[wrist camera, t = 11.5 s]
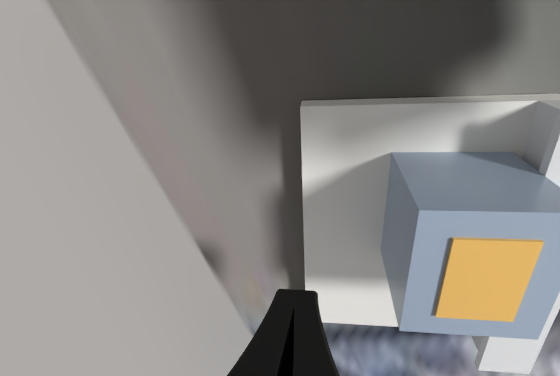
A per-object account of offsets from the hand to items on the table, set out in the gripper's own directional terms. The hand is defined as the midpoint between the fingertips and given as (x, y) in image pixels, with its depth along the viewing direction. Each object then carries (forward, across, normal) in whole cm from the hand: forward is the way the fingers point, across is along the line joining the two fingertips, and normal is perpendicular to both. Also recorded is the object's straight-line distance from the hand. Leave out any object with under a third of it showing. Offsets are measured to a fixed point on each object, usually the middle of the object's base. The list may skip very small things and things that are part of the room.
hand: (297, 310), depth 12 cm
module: (+5, -6, -2) cm, 8 cm away
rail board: (+6, -5, 0) cm, 8 cm away
